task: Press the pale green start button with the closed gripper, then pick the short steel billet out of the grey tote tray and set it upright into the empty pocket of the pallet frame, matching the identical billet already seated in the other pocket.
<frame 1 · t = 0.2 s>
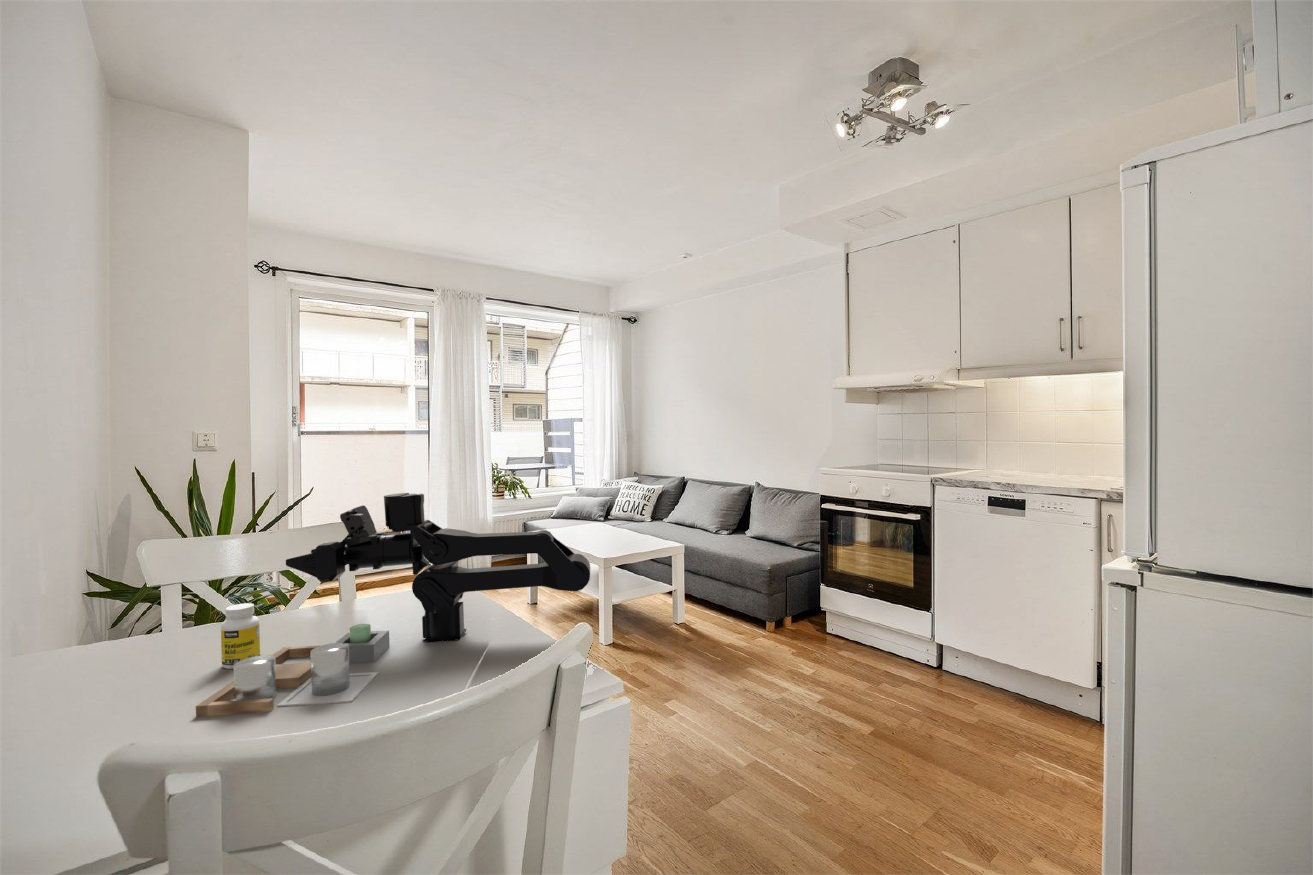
hand: (299, 557, 108), 16 cm above the table, tool horizontal, fingers open, 9 cm apart
seated steel billet: (256, 703, 86), on the table
loose steel billet: (331, 688, 88), point 1 cm above the table, touching tote tray
pallet frame: (277, 684, 92), on the table
tote tray: (331, 692, 88), on the table
button housing: (361, 658, 102), on the table
start button: (360, 635, 102), point 4 cm above the table, slide at 0.0 cm
supplement bottle: (241, 664, 101), on the table
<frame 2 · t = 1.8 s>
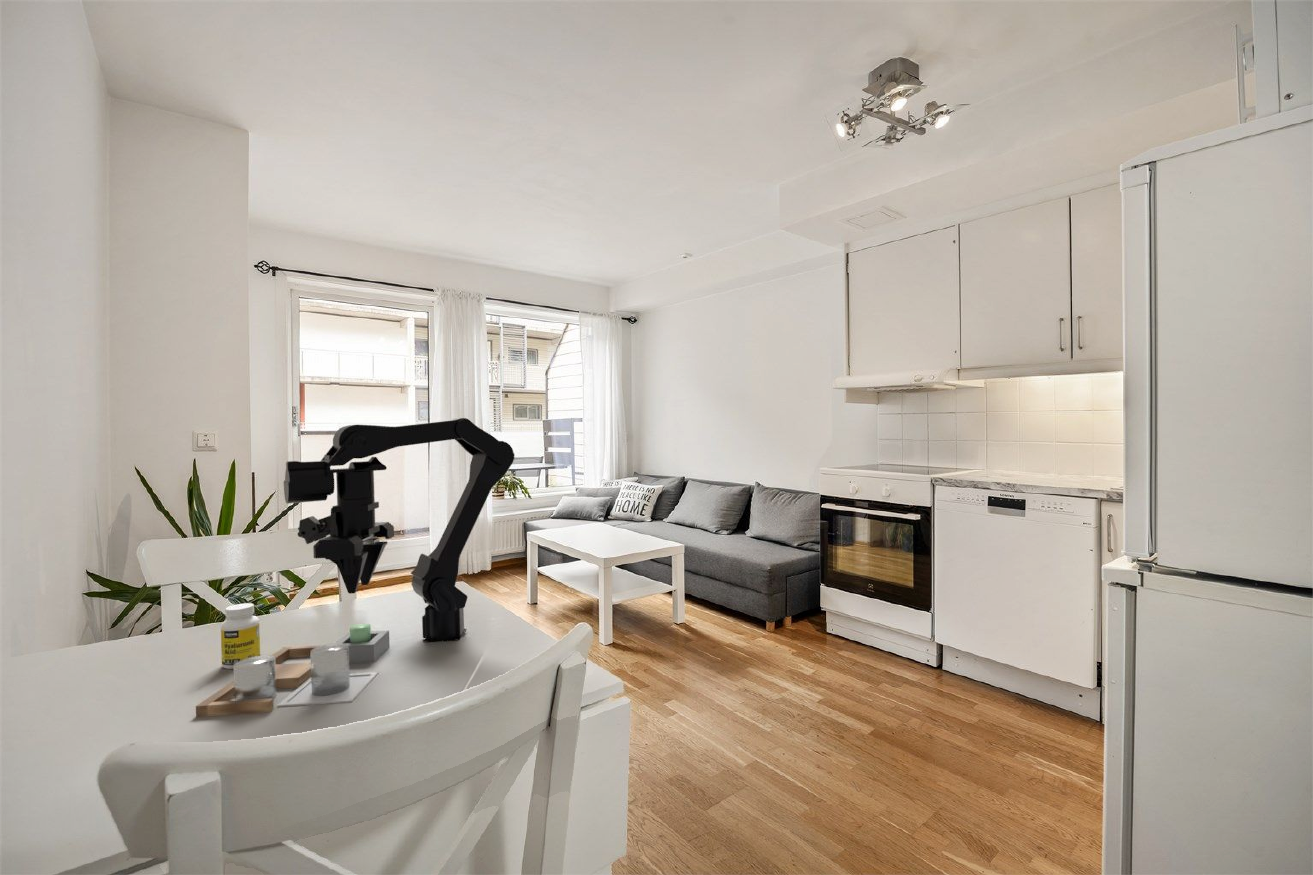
hand: (358, 588, 102), 12 cm above the table, tool pointing down, fingers open, 5 cm apart
nothing on the table moved.
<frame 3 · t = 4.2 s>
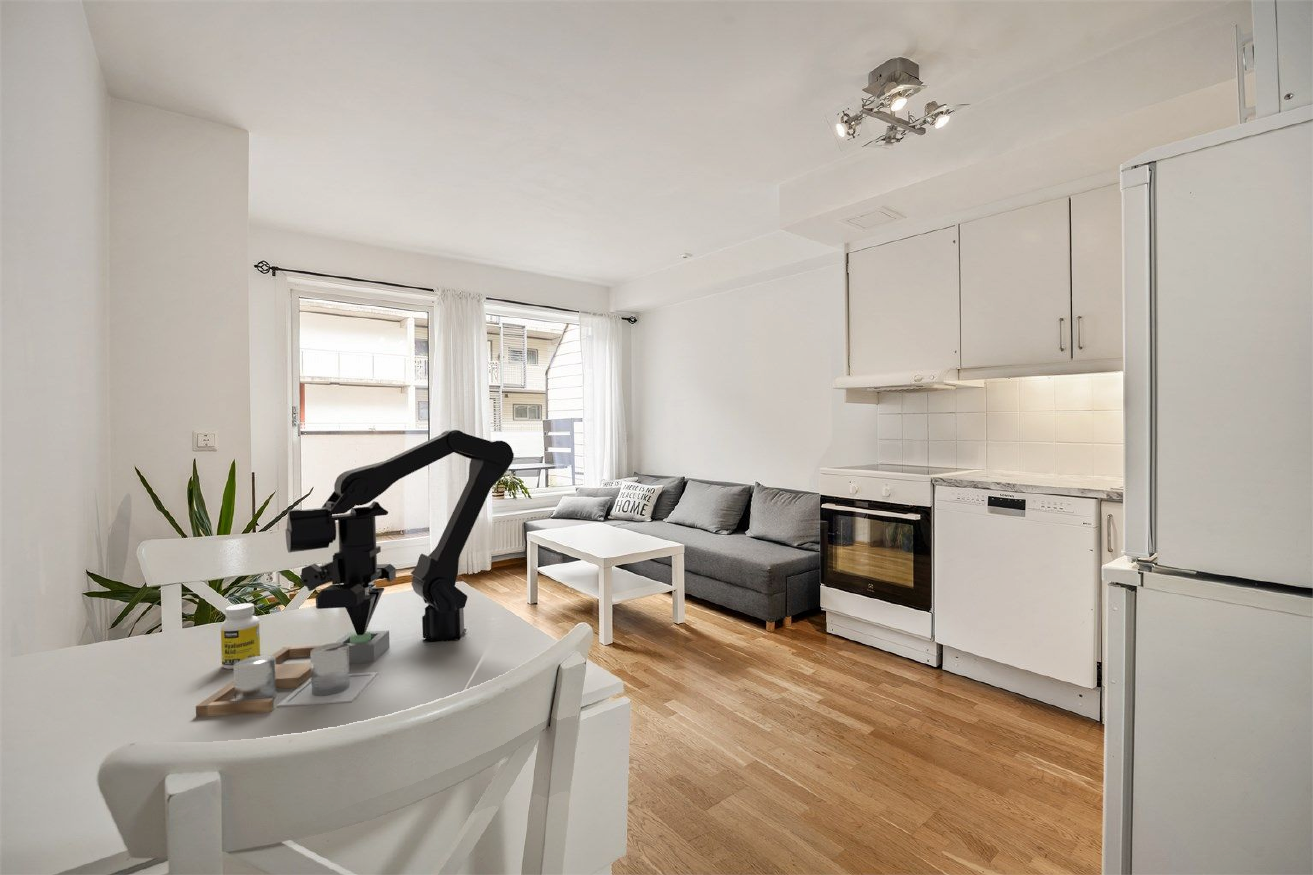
hand: (361, 634, 102), 4 cm above the table, tool pointing down, fingers closed, pressing on start button
start button: (360, 643, 102), point 3 cm above the table, slide at 1.3 cm, touching gripper
everything else where it was.
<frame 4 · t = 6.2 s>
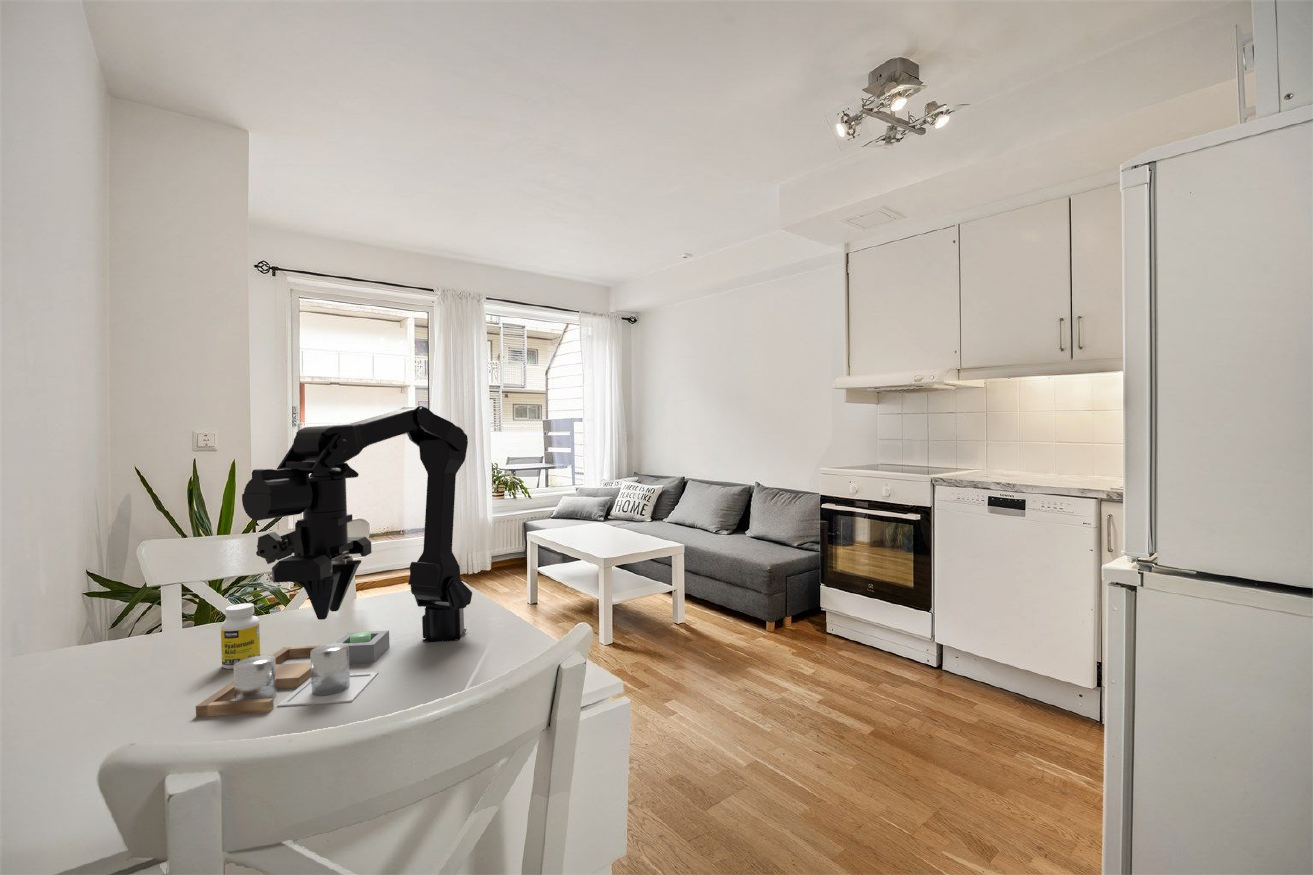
hand: (328, 615, 88), 12 cm above the table, tool pointing down, fingers open, 4 cm apart
start button: (360, 643, 102), point 3 cm above the table, slide at 1.5 cm
everything else where it was.
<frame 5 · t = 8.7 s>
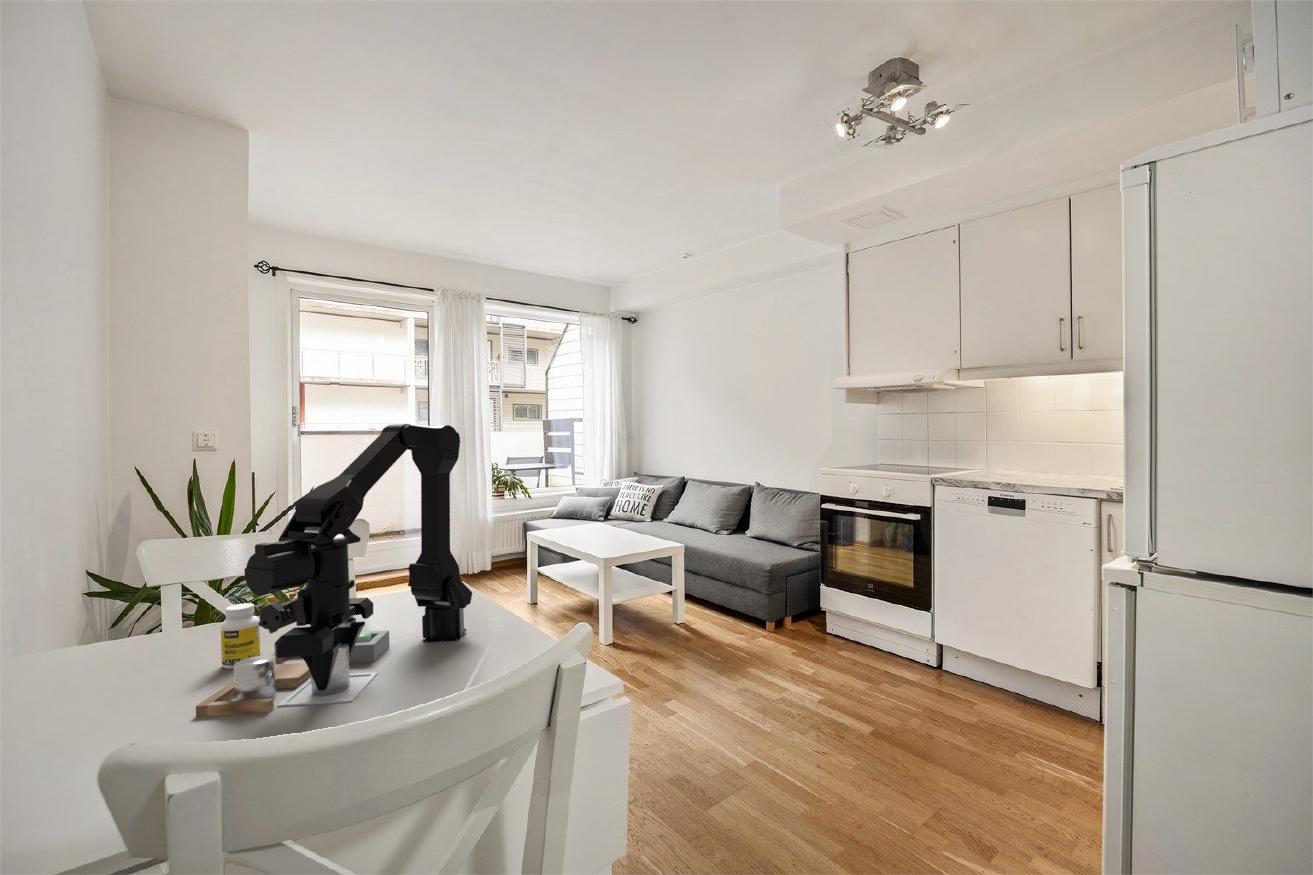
hand: (330, 682, 88), 2 cm above the table, tool pointing down, fingers closed on loose steel billet, 5 cm apart
loose steel billet: (331, 688, 88), point 1 cm above the table, touching gripper, tote tray
everything else where it was.
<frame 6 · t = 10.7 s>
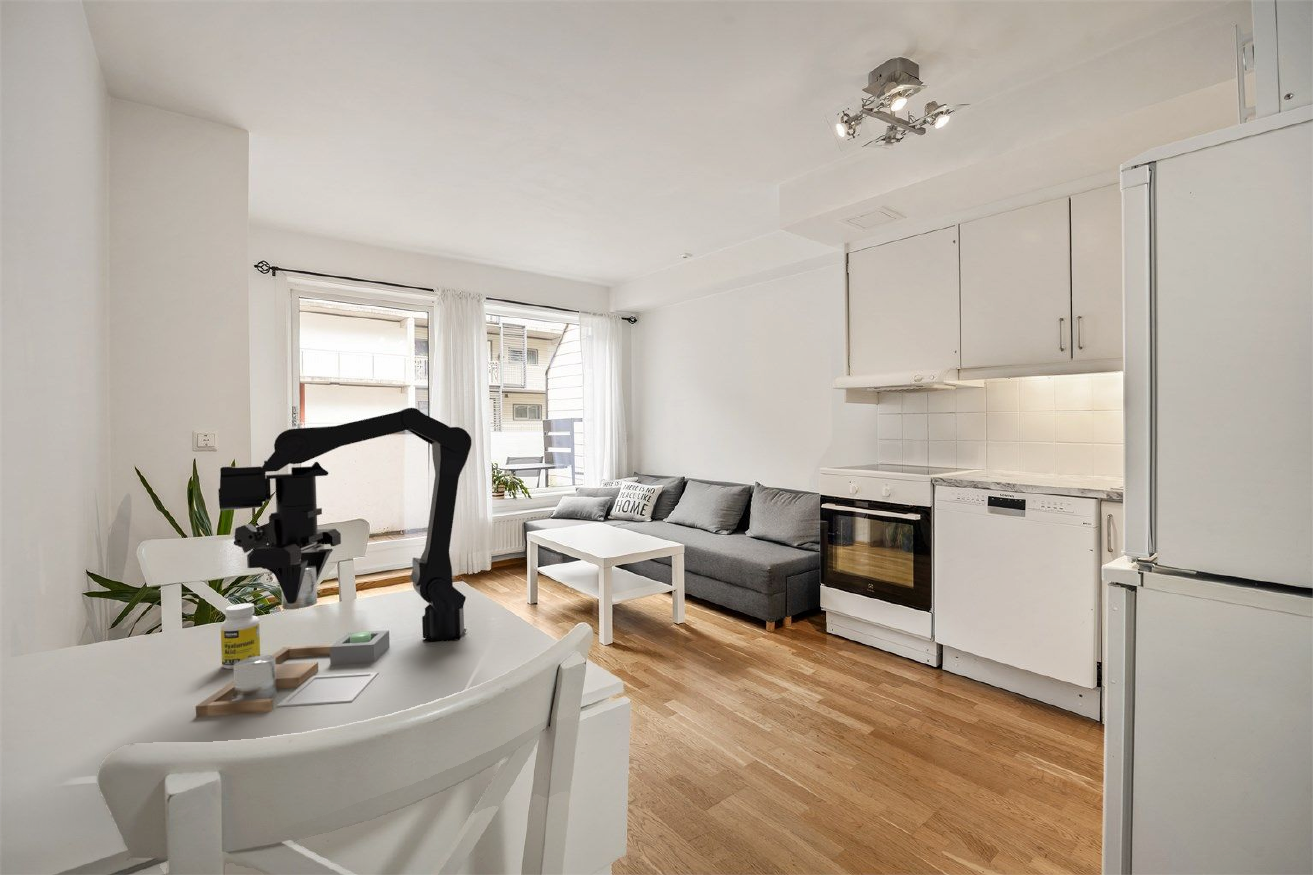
hand: (300, 598, 98), 12 cm above the table, tool pointing down, fingers closed on loose steel billet, 5 cm apart
loose steel billet: (299, 604, 98), point 11 cm above the table, touching gripper
everything else where it was.
when the fingers open (3 cm above the table, at t = 12.7 s): loose steel billet drops 2 cm, on the table.
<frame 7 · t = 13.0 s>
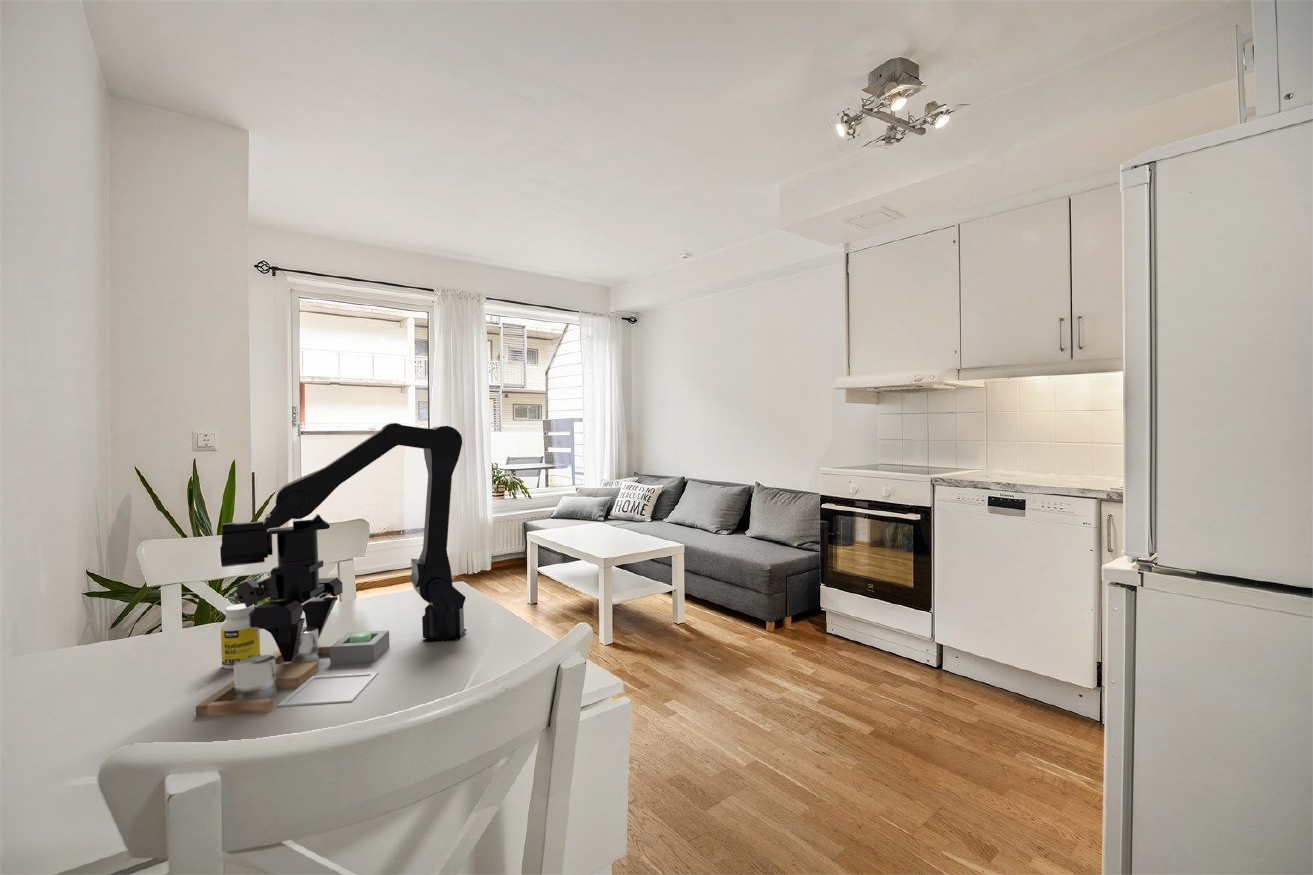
hand: (301, 651, 99), 3 cm above the table, tool pointing down, fingers open, 8 cm apart
loose steel billet: (302, 667, 99), on the table
everything else where it was.
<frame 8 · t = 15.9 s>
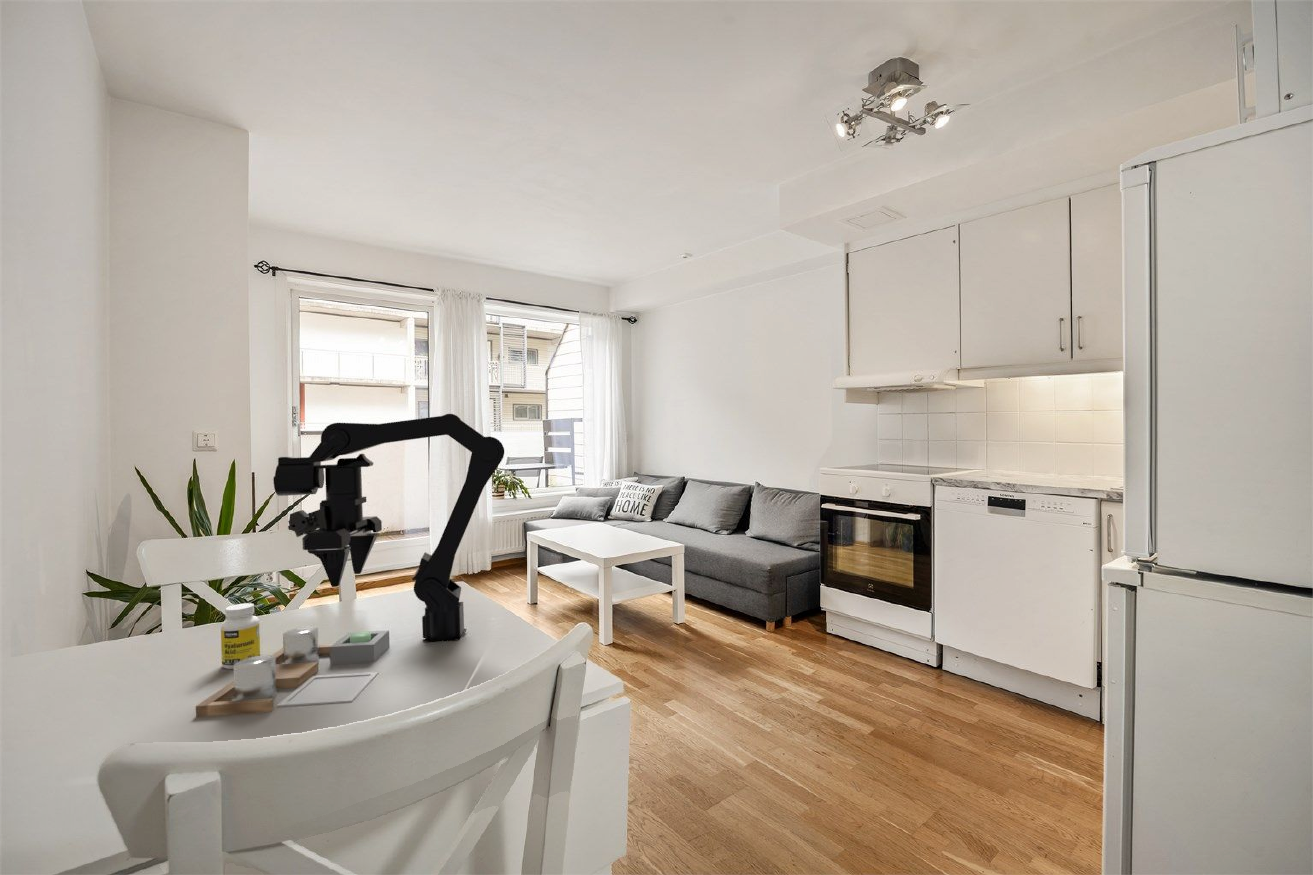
hand: (346, 579, 106), 13 cm above the table, tool pointing down, fingers open, 9 cm apart
nothing on the table moved.
at the end: loose steel billet inside the target area (0.1 cm from its centre), on the table; loose steel billet tilted 0°; start button slide at 1.5 cm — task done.
